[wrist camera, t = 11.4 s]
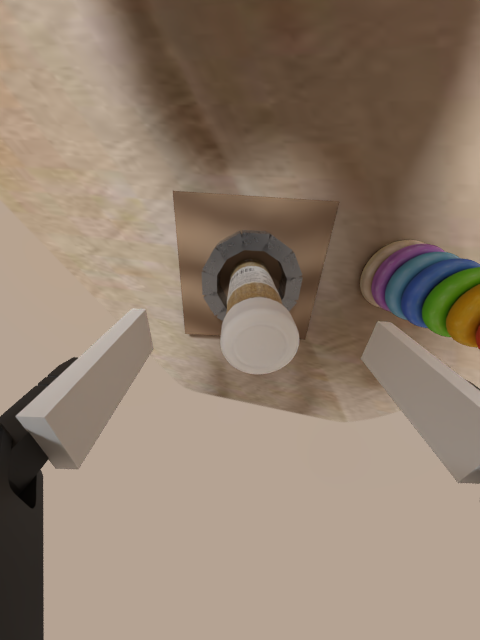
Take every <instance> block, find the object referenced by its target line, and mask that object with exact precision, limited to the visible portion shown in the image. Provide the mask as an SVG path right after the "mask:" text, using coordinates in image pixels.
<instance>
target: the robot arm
mask: <svg viewBox="0 0 480 640" xmlns="http://www.w3.org/2000/svg"><path fill="white" fill-rule="evenodd" d="M152 350H153V344H152V339H151V333H150V328H149V323H148V318H147V313H146V309H133V308H132V309H131V310H130V311H129V312H128V313H127V314H125V315H124V316H123V317H122V318H121V319H120V320H119V321H118V322H117V323H116V324H115V325H114V326H113V327H111V328H110V329H109V330H108V331H107V332H106V333H105V334H104V335H103V336H102V337H101V338H100V339H98V340H97V341H96V342H95V343H94V344H93V345H92V346H91V347H90V348H89V349H88V350H87V351H85V352H84V353H83V354H82V355H81V356H80V357H79V358H75V357H74V358H72V359H70V360H68V361H66V362H64V363H63V364H61V365H59V366H58V367H57V368H56V369H55V370H53V371H52V372H51V373H50V374H49V375H48V377H45V378H44V379H43V380H42V381H41V382H39V383H38V386H35V387H34V388H33V389H31V390H30V391H29V392H28V393H27V394H26V395H24V396H23V397H22V398H21V399H20V400H19V401H18V402H16V403H15V404H14V405H13V406H12V407H11V408H9V409H8V410H7V411H6V412H5V413H4V414H3V415H1V417H0V640H43V475H42V472H41V470H40V469H41V468H42V467H43V465H44V464H45V463H46V461H47V460H48V459H49V461H50V462H51V463H52V465H53V466H54V467H55V468H57V469H79V468H80V466H81V464H82V463H83V461H84V459H85V458H86V456H87V454H88V453H89V452H90V450H91V448H92V447H93V445H94V444H95V442H96V440H97V439H98V437H99V435H100V434H101V432H102V431H103V429H104V427H105V426H106V424H107V423H108V421H109V419H110V418H111V416H112V415H113V413H114V411H115V410H116V408H117V406H118V405H119V403H120V402H121V400H122V398H123V397H124V395H125V394H126V392H127V390H128V389H129V387H130V386H131V384H132V382H133V381H134V379H135V377H136V376H137V374H138V373H139V371H140V370H141V368H142V366H143V365H144V363H145V362H146V360H147V358H148V357H149V355H150V354H151V352H152ZM361 360H362V361H363V362H364V364H365V365H366V366H367V367H368V369H369V370H370V371H371V373H372V374H373V375H374V376H375V378H376V379H377V380H378V382H379V383H380V384H381V385H382V387H383V388H384V389H385V390H386V392H387V393H388V394H389V396H390V397H391V398H392V399H393V401H394V402H395V403H396V404H397V406H398V407H399V408H400V410H401V411H402V412H403V413H404V415H405V416H406V417H407V419H408V420H409V421H410V422H411V424H412V425H413V426H414V427H415V429H416V430H417V431H418V433H419V434H420V435H421V436H422V438H423V439H424V440H425V441H426V443H427V444H428V445H429V447H431V449H432V450H433V452H434V453H435V454H436V455H437V457H438V458H439V459H440V461H441V462H442V463H443V464H444V466H445V467H446V468H447V469H448V471H449V472H450V473H451V475H452V476H453V477H454V478H455V480H456V481H457V482H458V483H477V484H479V483H480V389H479V388H478V387H476V386H475V385H474V384H472V383H471V382H469V381H467V380H465V379H464V378H463V377H461V376H460V375H459V374H457V373H456V372H455V371H453V370H452V369H451V368H450V367H448V366H447V365H446V364H444V363H443V362H442V361H441V360H439V359H438V358H437V357H435V356H434V355H433V354H431V353H430V352H429V351H428V350H426V349H425V348H424V347H422V346H421V345H420V344H419V343H417V342H416V341H415V340H413V339H412V338H411V337H409V336H408V335H407V334H406V333H404V332H403V331H402V330H400V329H399V328H398V327H396V326H395V325H394V324H393V323H391V322H383V321H377V323H376V325H375V328H374V330H373V332H372V334H371V337H370V339H369V341H368V343H367V346H366V348H365V350H364V352H363V354H362V357H361Z"/></svg>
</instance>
